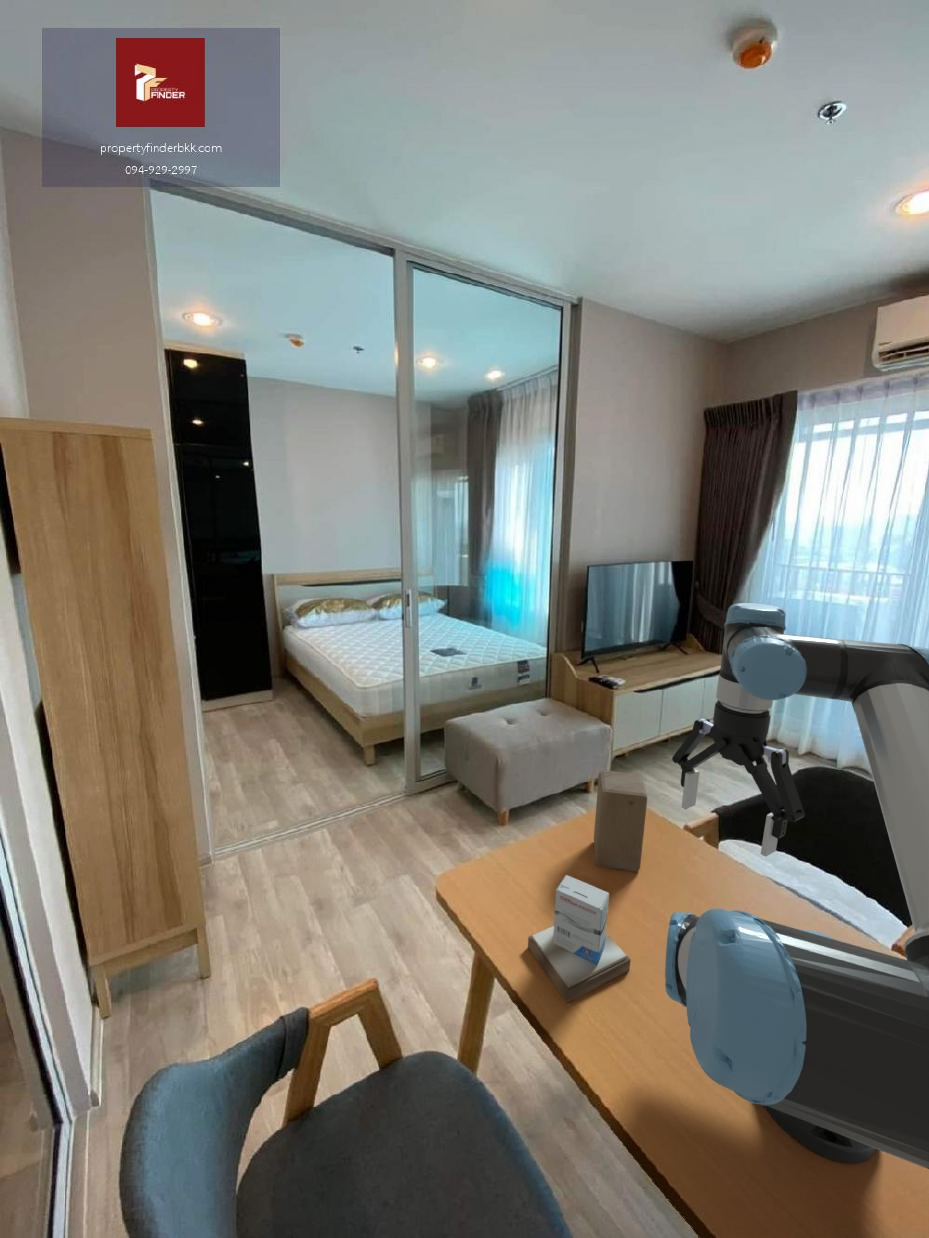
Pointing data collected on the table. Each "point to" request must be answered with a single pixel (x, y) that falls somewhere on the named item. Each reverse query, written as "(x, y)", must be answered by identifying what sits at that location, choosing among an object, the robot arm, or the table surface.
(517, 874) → the table surface
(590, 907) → the ink box
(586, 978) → the stand
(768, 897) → the table surface
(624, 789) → the wooden block
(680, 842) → the table surface
